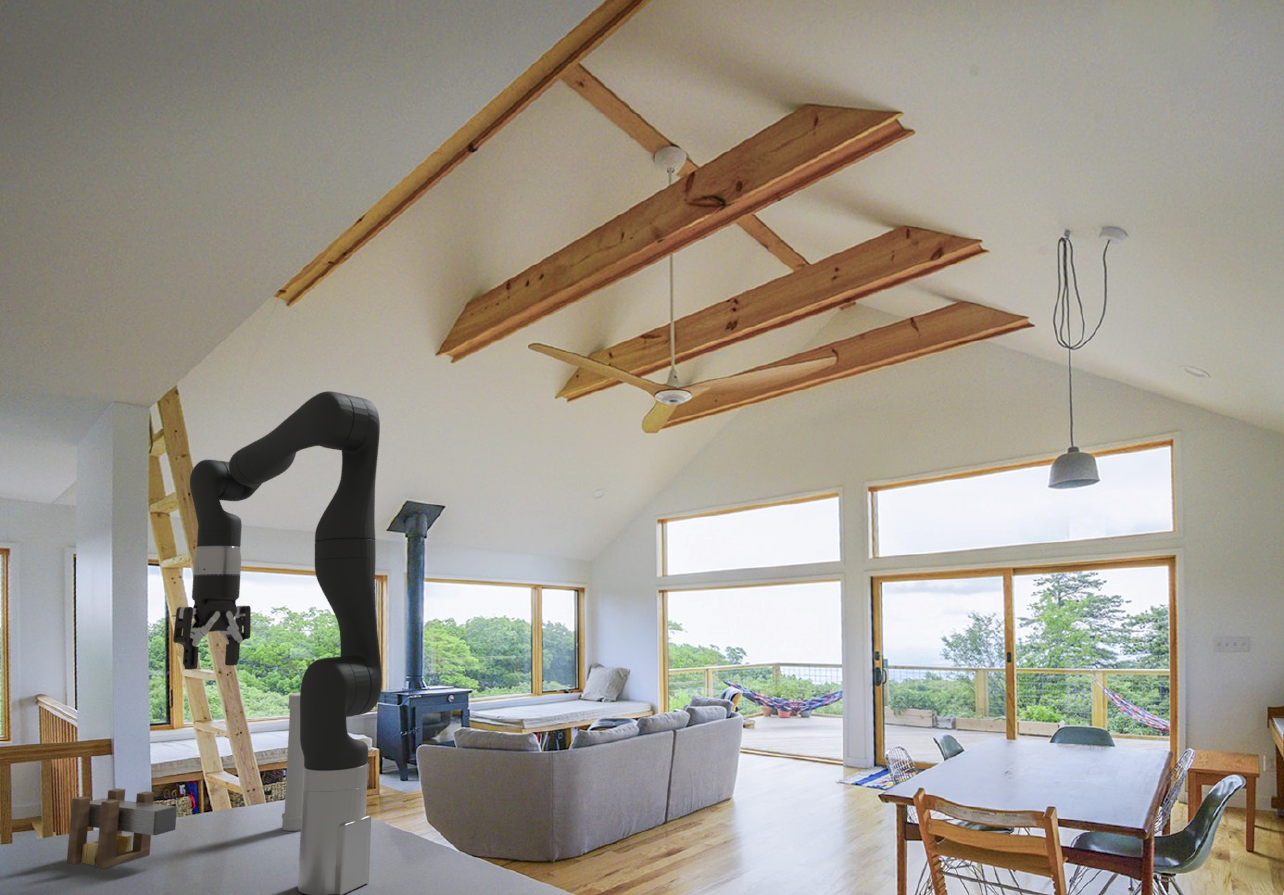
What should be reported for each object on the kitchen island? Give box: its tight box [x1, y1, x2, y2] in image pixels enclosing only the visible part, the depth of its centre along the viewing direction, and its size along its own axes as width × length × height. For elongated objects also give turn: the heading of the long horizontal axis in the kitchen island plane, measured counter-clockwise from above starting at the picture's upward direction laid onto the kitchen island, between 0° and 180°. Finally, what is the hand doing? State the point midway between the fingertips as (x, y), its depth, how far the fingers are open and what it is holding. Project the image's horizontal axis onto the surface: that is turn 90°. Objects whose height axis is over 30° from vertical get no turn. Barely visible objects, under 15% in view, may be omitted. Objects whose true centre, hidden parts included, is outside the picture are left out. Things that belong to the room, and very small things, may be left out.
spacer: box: [80, 833, 133, 866], centre depth 145 cm, size 3×7×3 cm
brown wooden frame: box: [66, 788, 155, 869], centre depth 146 cm, size 9×8×10 cm
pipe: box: [281, 662, 304, 832], centre depth 165 cm, size 6×6×30 cm
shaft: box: [88, 797, 178, 836], centre depth 145 cm, size 18×4×4 cm, turn 68°
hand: (211, 667), depth 152 cm, fingers open, 8 cm apart
